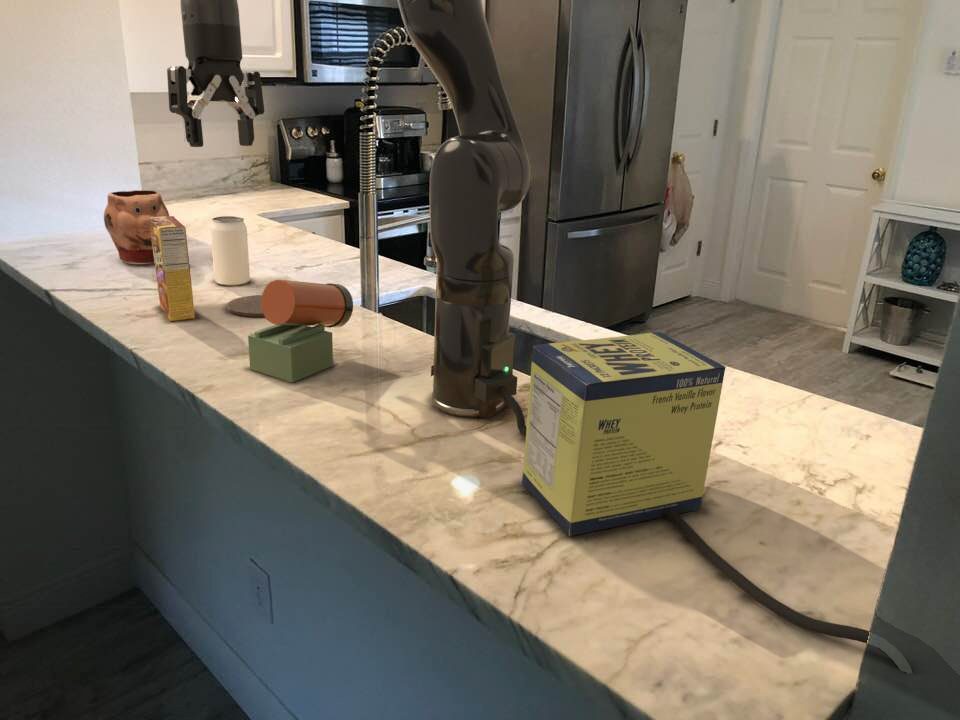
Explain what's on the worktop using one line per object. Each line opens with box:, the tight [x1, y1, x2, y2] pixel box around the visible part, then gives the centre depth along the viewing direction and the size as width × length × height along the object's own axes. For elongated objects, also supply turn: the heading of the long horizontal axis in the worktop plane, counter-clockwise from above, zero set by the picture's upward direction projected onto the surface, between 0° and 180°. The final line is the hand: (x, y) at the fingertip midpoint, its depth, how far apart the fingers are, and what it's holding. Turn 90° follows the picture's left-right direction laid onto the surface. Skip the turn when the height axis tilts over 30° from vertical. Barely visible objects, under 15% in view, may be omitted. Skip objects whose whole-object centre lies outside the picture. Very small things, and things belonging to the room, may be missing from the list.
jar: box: [261, 279, 354, 329], centre depth 106 cm, size 12×6×6 cm, turn 149°
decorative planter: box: [103, 189, 170, 265], centre depth 155 cm, size 20×12×14 cm, turn 43°
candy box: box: [149, 215, 196, 322], centre depth 123 cm, size 9×4×15 cm, turn 31°
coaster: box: [226, 294, 266, 318], centre depth 131 cm, size 11×11×1 cm
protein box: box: [521, 331, 726, 537], centre depth 75 cm, size 10×16×16 cm
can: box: [210, 215, 251, 287], centre depth 143 cm, size 6×6×12 cm
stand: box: [247, 324, 334, 383], centre depth 105 cm, size 8×8×6 cm
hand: (222, 146), depth 109 cm, fingers open, 8 cm apart
